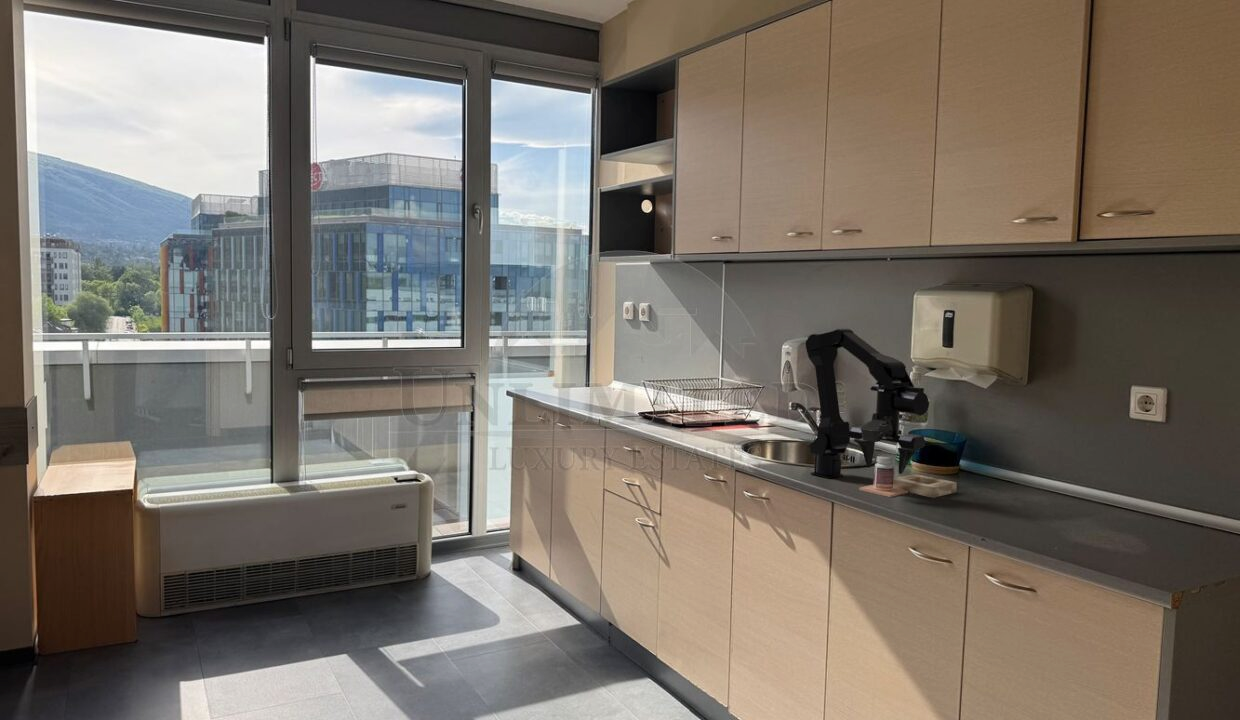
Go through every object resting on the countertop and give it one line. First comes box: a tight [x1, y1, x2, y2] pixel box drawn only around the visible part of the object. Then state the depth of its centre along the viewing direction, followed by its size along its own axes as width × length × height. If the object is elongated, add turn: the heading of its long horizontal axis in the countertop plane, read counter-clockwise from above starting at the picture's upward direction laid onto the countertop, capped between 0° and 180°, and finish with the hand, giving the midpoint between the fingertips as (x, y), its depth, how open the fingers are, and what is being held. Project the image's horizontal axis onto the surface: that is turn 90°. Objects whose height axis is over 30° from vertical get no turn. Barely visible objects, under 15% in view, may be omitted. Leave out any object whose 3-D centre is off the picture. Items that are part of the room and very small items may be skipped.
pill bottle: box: [873, 455, 895, 491], centre depth 216 cm, size 5×5×8 cm
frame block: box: [893, 473, 957, 498], centre depth 219 cm, size 12×11×2 cm
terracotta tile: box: [859, 484, 909, 498], centre depth 216 cm, size 9×8×1 cm
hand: (884, 470), depth 216 cm, fingers open, 9 cm apart
